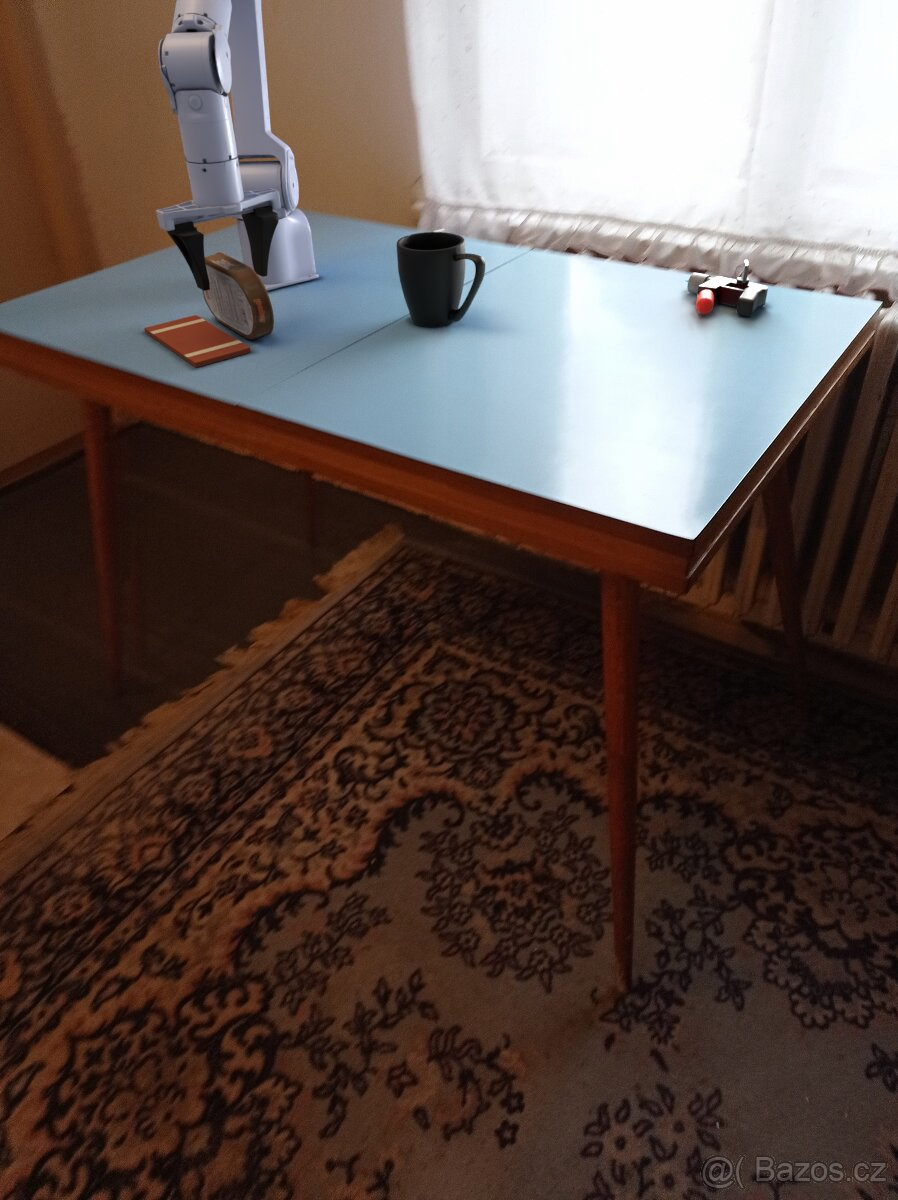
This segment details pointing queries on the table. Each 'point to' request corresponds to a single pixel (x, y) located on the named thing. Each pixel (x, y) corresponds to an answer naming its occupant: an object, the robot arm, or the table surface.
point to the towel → (197, 340)
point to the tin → (238, 297)
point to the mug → (436, 277)
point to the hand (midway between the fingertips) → (232, 281)
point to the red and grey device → (727, 292)
